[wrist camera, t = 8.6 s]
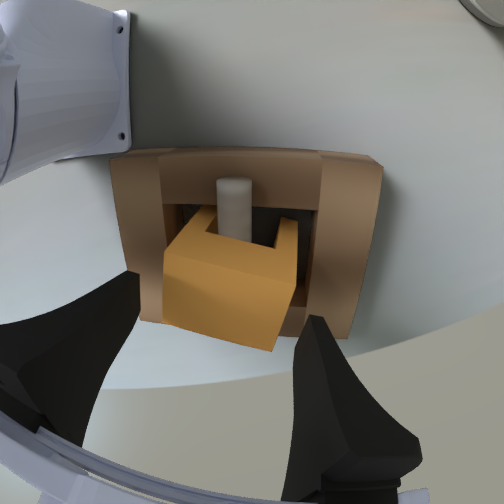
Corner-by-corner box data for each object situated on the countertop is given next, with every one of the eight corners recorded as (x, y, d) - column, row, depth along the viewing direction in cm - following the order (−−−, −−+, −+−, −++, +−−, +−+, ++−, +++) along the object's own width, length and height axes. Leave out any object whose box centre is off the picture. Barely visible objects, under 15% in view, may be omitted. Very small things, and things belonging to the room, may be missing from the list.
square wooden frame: (134, 149, 17) (92, 167, 13) (368, 155, 16) (394, 175, 11) (155, 295, 22) (131, 335, 18) (342, 310, 21) (350, 357, 17)
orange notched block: (207, 199, 17) (164, 251, 12) (298, 221, 17) (296, 285, 12) (199, 256, 19) (162, 322, 14) (281, 277, 19) (271, 351, 14)
